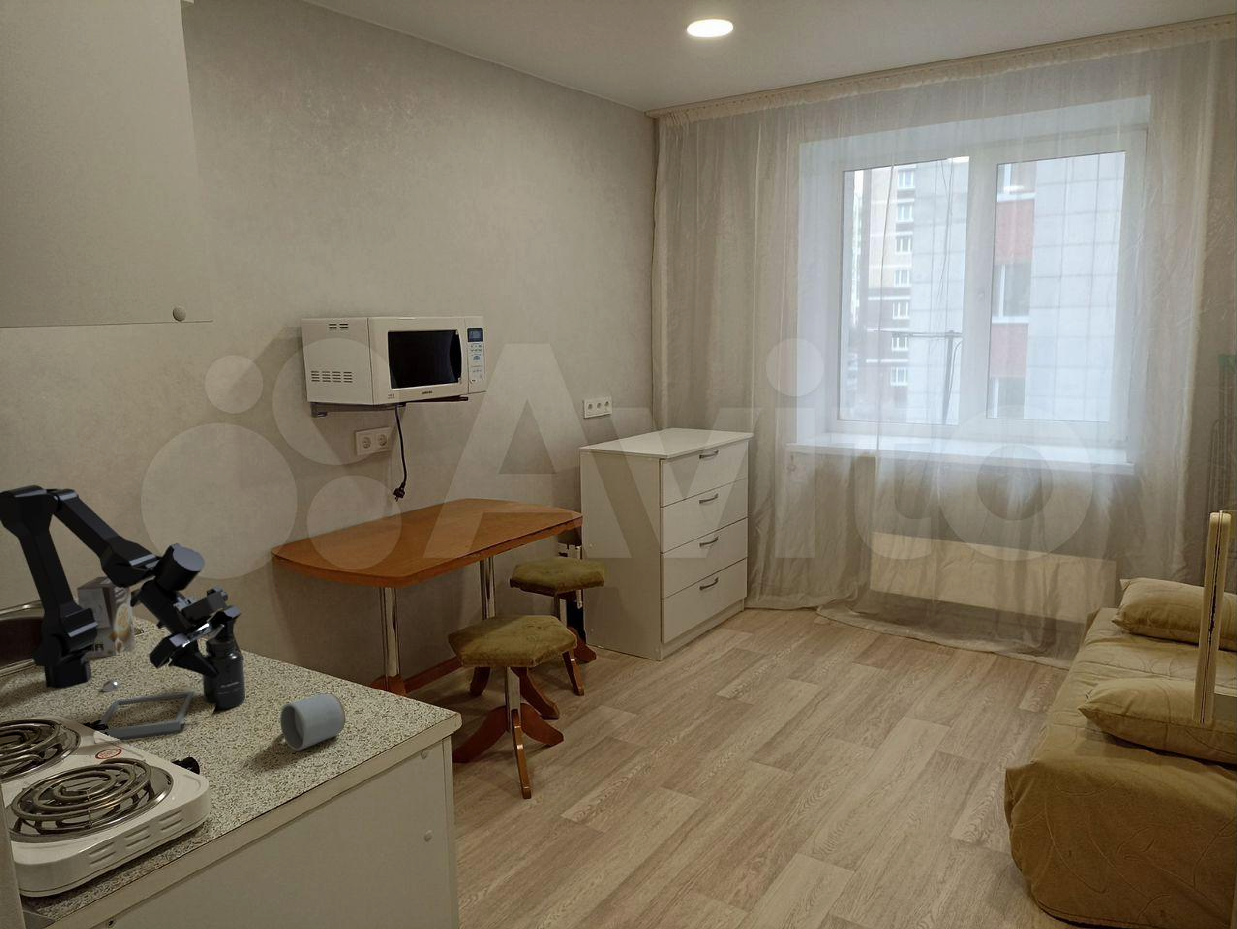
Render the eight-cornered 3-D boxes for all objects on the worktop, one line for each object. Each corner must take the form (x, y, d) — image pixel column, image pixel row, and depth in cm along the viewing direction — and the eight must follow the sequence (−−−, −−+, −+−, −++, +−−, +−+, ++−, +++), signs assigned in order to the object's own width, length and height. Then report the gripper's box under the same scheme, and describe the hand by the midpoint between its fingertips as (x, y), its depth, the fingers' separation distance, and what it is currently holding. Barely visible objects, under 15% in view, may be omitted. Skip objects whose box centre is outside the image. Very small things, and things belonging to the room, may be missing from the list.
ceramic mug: (350, 737, 146) (346, 693, 145) (306, 757, 139) (301, 711, 138) (314, 721, 152) (310, 679, 151) (270, 739, 146) (266, 695, 145)
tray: (94, 744, 145) (93, 732, 145) (116, 710, 158) (115, 700, 157) (180, 732, 149) (179, 721, 148) (195, 701, 161) (194, 690, 161)
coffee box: (117, 662, 180) (108, 587, 178) (84, 664, 180) (75, 588, 177) (137, 646, 189) (128, 574, 187) (105, 648, 189) (96, 575, 186)
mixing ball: (101, 700, 162) (99, 684, 162) (105, 693, 165) (104, 678, 165) (119, 698, 163) (117, 682, 163) (123, 691, 166) (121, 676, 165)
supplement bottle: (230, 712, 156) (224, 648, 154) (196, 709, 157) (190, 645, 155) (254, 696, 163) (248, 634, 161) (221, 693, 164) (215, 632, 162)
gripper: (156, 593, 148) (220, 660, 148) (227, 563, 166) (285, 622, 165) (121, 635, 151) (184, 701, 151) (195, 601, 169) (251, 659, 168)
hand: (229, 668), depth 159 cm, fingers closed on supplement bottle, 7 cm apart
